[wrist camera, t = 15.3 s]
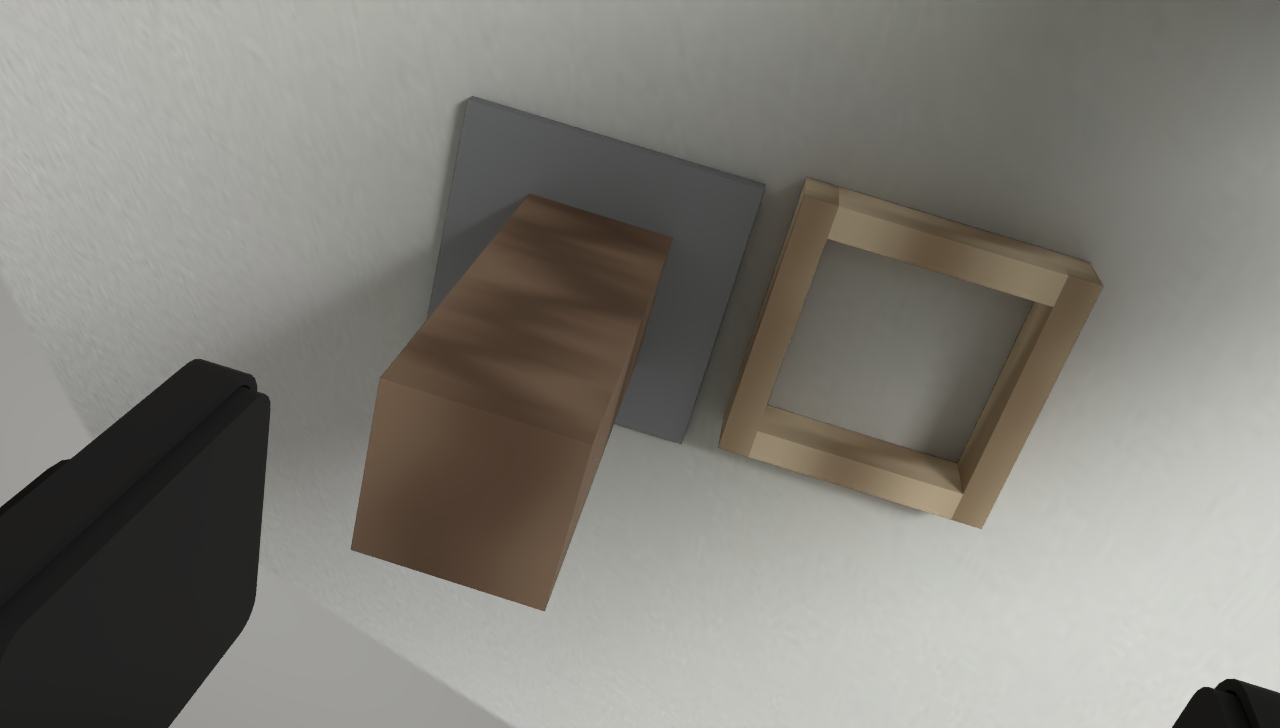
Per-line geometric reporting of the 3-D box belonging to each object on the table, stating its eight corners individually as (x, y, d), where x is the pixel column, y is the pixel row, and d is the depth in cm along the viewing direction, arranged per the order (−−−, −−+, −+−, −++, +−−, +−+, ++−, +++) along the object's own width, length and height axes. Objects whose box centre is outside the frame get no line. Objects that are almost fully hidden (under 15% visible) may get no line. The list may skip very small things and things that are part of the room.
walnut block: (673, 237, 41) (592, 444, 27) (635, 365, 43) (544, 611, 30) (529, 193, 41) (380, 378, 28) (500, 323, 43) (350, 549, 30)
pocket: (1090, 262, 39) (1103, 286, 37) (975, 497, 44) (981, 529, 42) (806, 177, 40) (804, 196, 38) (723, 419, 44) (717, 447, 42)
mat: (765, 184, 40) (764, 189, 39) (683, 436, 45) (681, 444, 45) (472, 96, 40) (467, 100, 40) (424, 356, 45) (419, 363, 45)
